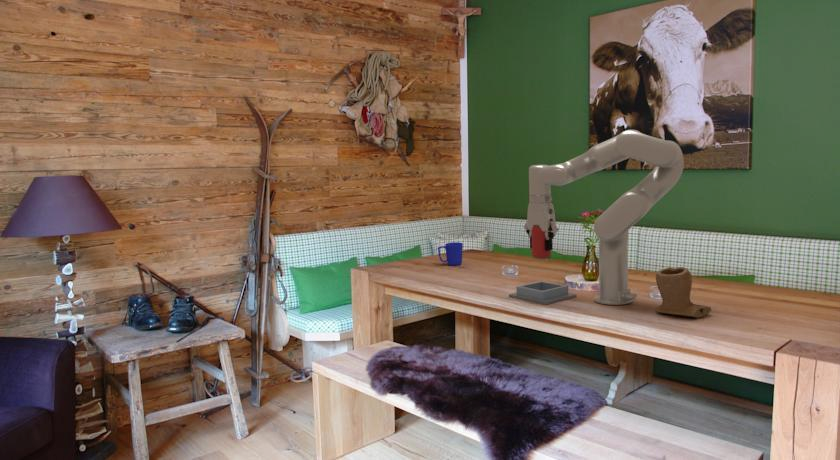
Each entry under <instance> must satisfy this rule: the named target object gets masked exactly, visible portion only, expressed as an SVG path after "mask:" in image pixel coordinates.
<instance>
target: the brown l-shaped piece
mask: <svg viewBox="0 0 840 460" xmlns="http://www.w3.org/2000/svg"><path fill="white" fill-rule="evenodd" d="M655 281H656V286H657V290H658V292H659V294H660V296H661V299H662V303H661V304H660V305H657V306H656V308H655V311H656V312H658V313H661V314H667V315H672V316H673V315H674V316H680V317H689V318H697V319H698V318H703V317H705V316H707V315H708V314H709V313H711V311H712V307H711V306H707V305H703V304H702V305H701V304H696V303H693V302H692V301H691V292H692V286H693V285H692V284H693V283H692V274H691V272H690V270H689V269H688V268H686V267H684V266H683V267H682V266H679V267H675V268H674V267H666V268H663V269H660V270H658V271H657V272H656V274H655Z"/></svg>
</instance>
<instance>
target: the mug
mask: <svg viewBox="0 0 840 460" xmlns="http://www.w3.org/2000/svg"><path fill="white" fill-rule="evenodd" d="M463 245H464V244H463V242H459V241H458V242H455V241H454V242H446V243H445V245H441V246H438V247H437V251H438V253H437V254H438V257H439V261H440V262H442V263H447V264H448V265H449V266H460V265H462V262H463V252H464V251H463V247H464V246H463ZM441 248H442V249H443V248H444V250H445V254H446V260H443V259H442V257H441Z"/></svg>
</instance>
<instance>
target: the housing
mask: <svg viewBox="0 0 840 460" xmlns="http://www.w3.org/2000/svg"><path fill="white" fill-rule="evenodd" d="M515 288H516V292H512V293H509V294H508V297H509V298H512V299H517V300H521V301H525V302H531V303H533V304H534V303H535V304H539V305H543V306H547V305H551V304H555V303H559V302H563V301H567V300H570V299H574V298H577V294H576V293H570V292H569V285H565V284H560V283H554V282H550V281H549V282H548V281H543V280H540V281H534V282H530V283H526V284H523V285H522V284H521V285H518V286H516V287H515Z"/></svg>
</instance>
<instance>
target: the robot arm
mask: <svg viewBox="0 0 840 460" xmlns="http://www.w3.org/2000/svg"><path fill="white" fill-rule="evenodd" d="M628 159H633V160H636V161H639V162H642V163H644V164H645V163H646V164H648V165H652V166H655V167H654V168H653V169H652V171H650V172H649V174H647V175H646V176H645V177H644V178H643V179H642V180H641V181H640V182H638V183H637V184H636V185H635V186H634V187H632V188H631V189H630V190H628V191H626V192H623V194H622V195H621V196H620V197H618V199H616V200H615V201H614V202H613V203H612V204H611V205H610V206H608V208H606V209H605V210H604V211H603V212H602V213H601V214H600V215H599V216H598V217H597V218H596V219H595V221H594V225H593V230H594V233H595V236H597V237H596V238H598V295H595V296H594V301H595V302H596V303H597V304H601V305H607V306H608V305H611V306H619V305H621V306H622V305H629V304H631V303H633V301H636V298H637V293H633V292H631V288H629V284H628V283H629V281H628V280H629V275H628V274H629V271H628V270H629V266H628V260H629V258H628V256H629V255H628V252H629V249H628V247H629V246H628V245H629V231H630V229H631V228H632V227H633V226H634V225H635V224H637V223H638V222H639V221H640V220H641V219H642V218H644V216H645V215H647V213H649V211H650V210H651V209H652V208H653V206H654V205H655V204H657V203H658V202H659V201H660V200H661V199H662V198H663V197H664V196H665V195H667V193H669V191H671V190H672V189H673V188H674V186H675V185H676V184H677V183H678V182H679V180H680V178H681V176H682V173H683V171H684V167H685V166H684V165H685V164H684V162H685V161H684V160H685V159H684V154H683V151H682V149H681V146H680V145H679V144H678V143H677V142H675V141H673V140H665V139H661V138H658V137H654V136H651V135H647V134H645V133H643V132H640V131H639V130H638V129H637V130H636V129H626V130H624V131H622V132H621V133H619V134H618V135H615V136H613V137H611V138H609V139H607V140H605V141H601V142H600V143H598V144H595V145H593V146H592V147H591V148H589V149H588V150H587V151H585V152H584V153H582V154H580V155H577V156H575V157H574V158H572V159H569V160H566V161H565V162H561V163H557V164H551V165H548V164H532V165H530V166H529V168H528V182H529V183H528V185H529V186H528V187H529V188H528V190H529V203H528V206H527V214H526V215H527V216H526V217H527V218H526V219H527V220H526V223H525V224H524V226H523V228H524V230H525V232H526V233H527V237H528V238H529V249H531V250H532V234H531V231H532V227H533V225H539V227H540V228H541V230H542V231H543V232H544V234H545V237H546V240H545V251H549V250H550V251H552V250H553V239H554V238H555V236H556V235H557V233H558V232H559V228H558V226H557V225H556V224H557V223H556V214H555V207H554V204H553V203H552V200H553V197H552V190H551V189H552V188H551V186H558V187H561V186H564V185H568V184H570V183H573V182H575V181H577V180H580V179H582V178H584V177H586V176H589V175H591V174H593V173H596V172H601V171H603V170H604V169H608V168H610V167H612V166H614V165H615V164H618V163H620V162H622V161H626V160H628ZM548 229H549V230H548ZM548 233H549V235H548Z"/></svg>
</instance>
